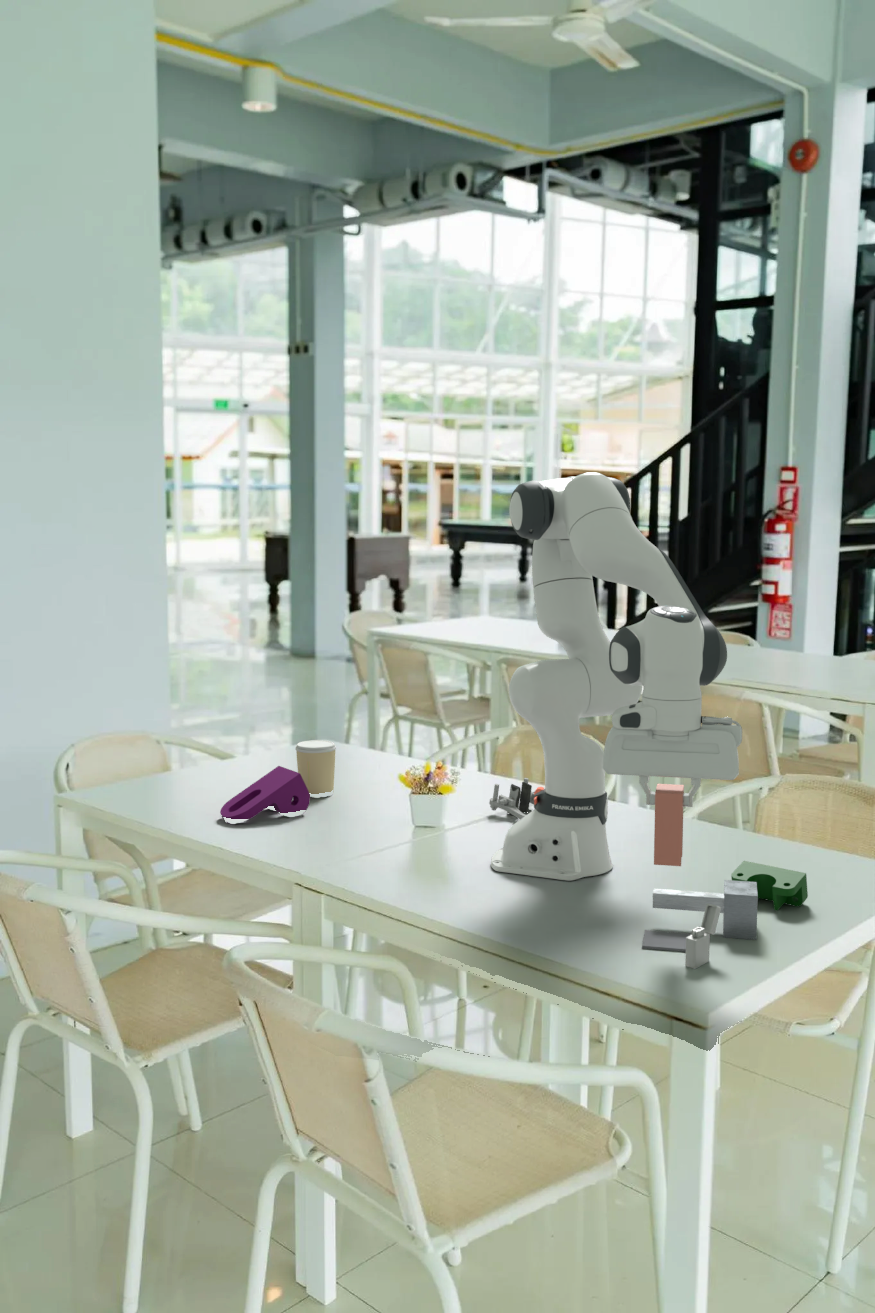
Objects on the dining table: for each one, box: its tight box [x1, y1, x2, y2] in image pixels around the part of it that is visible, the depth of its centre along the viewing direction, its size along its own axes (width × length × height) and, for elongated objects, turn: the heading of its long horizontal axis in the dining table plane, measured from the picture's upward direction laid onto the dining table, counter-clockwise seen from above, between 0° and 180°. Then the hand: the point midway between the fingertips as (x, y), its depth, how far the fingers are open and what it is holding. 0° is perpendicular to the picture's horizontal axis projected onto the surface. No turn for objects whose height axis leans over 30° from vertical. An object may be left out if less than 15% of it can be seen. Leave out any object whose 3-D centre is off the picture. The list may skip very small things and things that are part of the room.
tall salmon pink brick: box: [653, 783, 685, 867], centre depth 181 cm, size 4×6×11 cm, turn 167°
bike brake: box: [488, 777, 535, 820], centre depth 255 cm, size 14×7×20 cm
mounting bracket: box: [219, 765, 311, 820], centre depth 258 cm, size 9×8×18 cm
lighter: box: [684, 904, 721, 969], centre depth 175 cm, size 7×2×8 cm, turn 137°
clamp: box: [730, 860, 809, 911], centre depth 200 cm, size 12×6×9 cm, turn 44°
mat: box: [641, 929, 691, 953], centre depth 183 cm, size 7×7×1 cm
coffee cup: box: [295, 739, 337, 794], centre depth 276 cm, size 9×9×12 cm
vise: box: [652, 879, 759, 941], centre depth 189 cm, size 16×7×7 cm, turn 77°
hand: (669, 805), depth 180 cm, fingers closed on tall salmon pink brick, 4 cm apart
